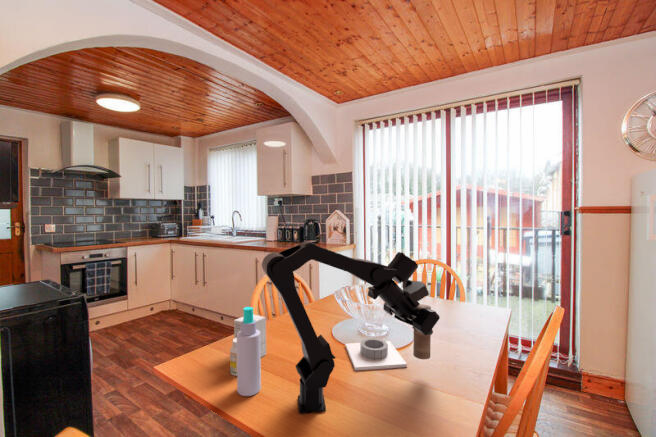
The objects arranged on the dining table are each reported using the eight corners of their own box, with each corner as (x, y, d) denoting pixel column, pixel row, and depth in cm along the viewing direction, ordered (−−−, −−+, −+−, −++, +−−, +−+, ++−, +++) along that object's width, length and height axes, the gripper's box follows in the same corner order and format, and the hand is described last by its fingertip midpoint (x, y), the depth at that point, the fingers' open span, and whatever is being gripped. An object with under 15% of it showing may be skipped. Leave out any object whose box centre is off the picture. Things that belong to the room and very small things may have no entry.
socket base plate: (406, 367, 93) (406, 354, 93) (355, 370, 91) (355, 357, 91) (389, 343, 109) (389, 332, 109) (345, 346, 107) (345, 335, 107)
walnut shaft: (433, 358, 85) (433, 309, 84) (417, 359, 84) (417, 309, 84) (425, 351, 89) (426, 303, 89) (410, 352, 89) (411, 304, 88)
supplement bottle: (228, 376, 88) (227, 343, 87) (232, 367, 93) (232, 336, 93) (247, 375, 88) (247, 343, 88) (250, 366, 93) (250, 335, 93)
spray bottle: (261, 382, 85) (260, 304, 84) (259, 396, 79) (259, 311, 78) (239, 384, 84) (238, 305, 83) (235, 398, 78) (234, 312, 77)
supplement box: (250, 349, 105) (250, 312, 104) (266, 354, 101) (266, 316, 100) (233, 358, 99) (233, 319, 98) (250, 364, 95) (249, 324, 94)
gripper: (434, 280, 76) (467, 318, 80) (392, 267, 93) (421, 299, 98) (407, 316, 73) (443, 353, 78) (369, 295, 91) (400, 326, 95)
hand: (426, 330), depth 87 cm, fingers closed on walnut shaft, 5 cm apart
